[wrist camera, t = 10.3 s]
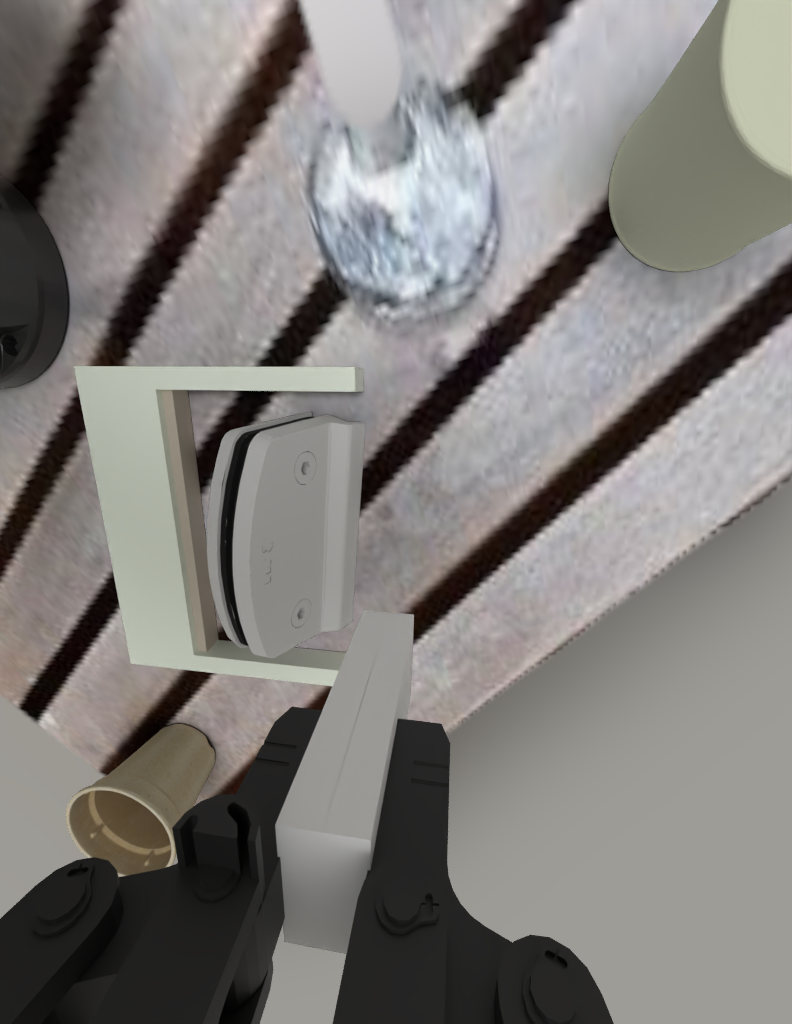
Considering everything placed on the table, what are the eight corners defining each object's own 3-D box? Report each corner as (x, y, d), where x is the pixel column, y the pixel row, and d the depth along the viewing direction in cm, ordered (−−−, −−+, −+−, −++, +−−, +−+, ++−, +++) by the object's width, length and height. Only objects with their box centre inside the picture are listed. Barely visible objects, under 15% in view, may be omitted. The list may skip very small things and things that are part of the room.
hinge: (352, 625, 35) (261, 697, 27) (306, 607, 37) (208, 668, 29) (366, 417, 30) (260, 424, 22) (312, 409, 32) (196, 412, 24)
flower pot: (132, 704, 41) (50, 783, 33) (222, 709, 40) (160, 793, 32) (153, 782, 44) (82, 873, 36) (239, 790, 42) (185, 887, 34)
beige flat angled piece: (150, 647, 39) (130, 663, 37) (101, 367, 32) (73, 366, 30) (366, 670, 36) (360, 689, 34) (363, 368, 29) (354, 366, 27)
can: (801, 53, 22) (1165, -304, 11) (783, 256, 24) (1063, 142, 13) (607, 100, 24) (739, -165, 12) (607, 285, 26) (718, 207, 15)
